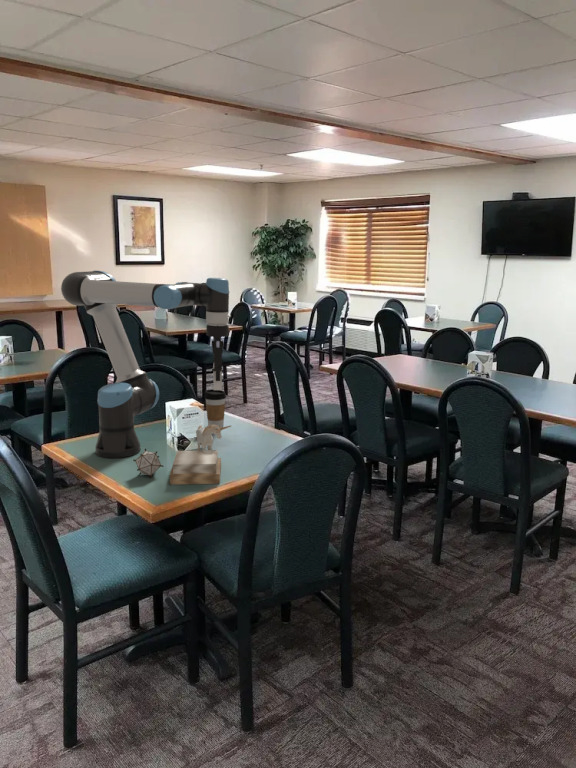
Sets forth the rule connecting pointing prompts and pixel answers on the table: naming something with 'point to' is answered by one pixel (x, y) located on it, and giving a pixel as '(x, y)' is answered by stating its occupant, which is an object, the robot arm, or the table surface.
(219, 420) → the coffee cup
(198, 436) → the unicorn figurine
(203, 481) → the tower base
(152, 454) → the game die
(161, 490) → the table surface
